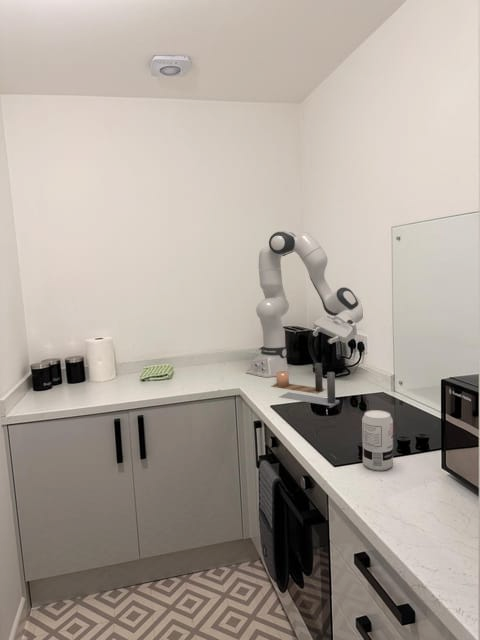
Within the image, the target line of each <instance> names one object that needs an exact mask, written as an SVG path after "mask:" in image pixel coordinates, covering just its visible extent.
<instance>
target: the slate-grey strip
mask: <svg viewBox="0 0 480 640" xmlns="http://www.w3.org/2000/svg"><path fill="white" fill-rule="evenodd" d="M326 383H327V384H326V390H327V391H326V392H327V396H326V397H327V398H326V397H321V396H314V395H308V394H304V393H303V394H301V393H296V392H290V391H288V392H285V393H284V394H282V395H279V396H278V398H281V399H288V400H293V401H294V400H295V401H299V402H306V403H310V404H311V403H312V404H317V405H323V406H327V408H328V409H331V408H333V407H335V406H337V405H338V404H339V403H340V399H336V373H335V372H334V371H328V372H326Z"/></svg>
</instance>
